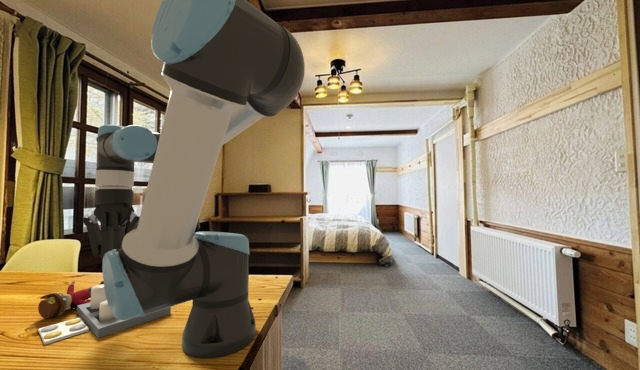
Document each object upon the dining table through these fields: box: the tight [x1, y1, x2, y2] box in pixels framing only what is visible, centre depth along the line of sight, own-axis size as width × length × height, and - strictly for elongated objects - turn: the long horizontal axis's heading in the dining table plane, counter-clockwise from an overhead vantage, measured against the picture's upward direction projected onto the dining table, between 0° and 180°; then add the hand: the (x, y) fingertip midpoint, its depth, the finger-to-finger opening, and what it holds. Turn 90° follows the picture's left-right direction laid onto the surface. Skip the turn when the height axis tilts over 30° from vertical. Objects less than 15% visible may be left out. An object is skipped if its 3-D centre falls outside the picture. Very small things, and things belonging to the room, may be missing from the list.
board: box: [76, 302, 172, 339], centre depth 69 cm, size 20×15×2 cm
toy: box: [37, 280, 104, 320], centre depth 72 cm, size 11×7×15 cm
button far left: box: [90, 284, 107, 309], centre depth 68 cm, size 4×4×5 cm
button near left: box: [99, 300, 115, 322], centre depth 63 cm, size 4×4×5 cm
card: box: [38, 317, 90, 346], centre depth 60 cm, size 9×7×1 cm
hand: (111, 284), depth 63 cm, fingers closed
